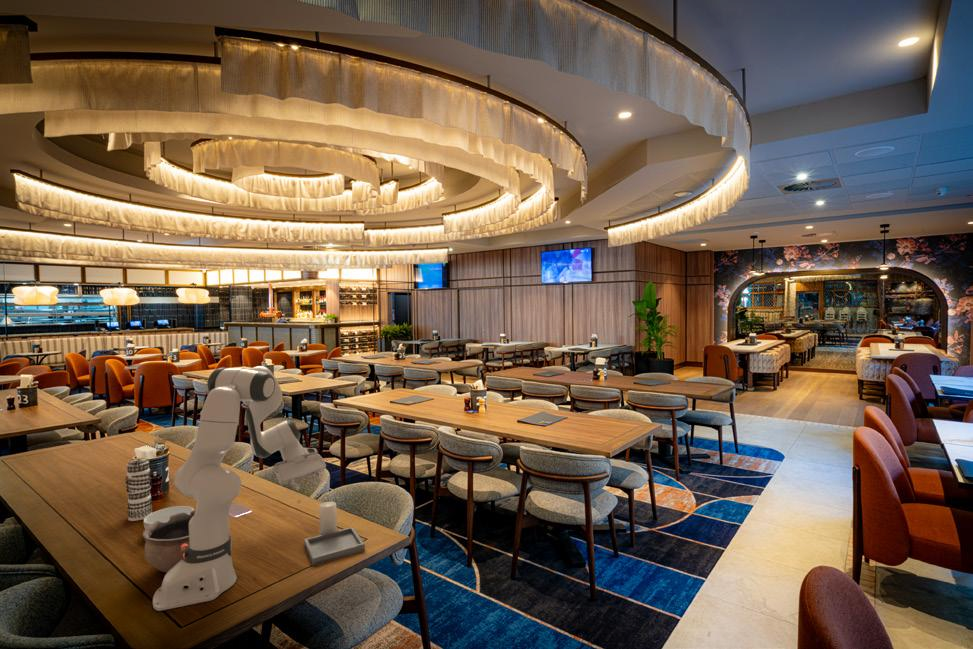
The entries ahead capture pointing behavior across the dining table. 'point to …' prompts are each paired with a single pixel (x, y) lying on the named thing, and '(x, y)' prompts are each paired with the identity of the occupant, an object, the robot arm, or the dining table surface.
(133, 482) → the decorative candle
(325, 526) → the cream capsule shape
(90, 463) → the dining table surface
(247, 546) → the dining table surface
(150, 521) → the cereal bowl
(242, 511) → the mobile phone
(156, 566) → the ceramic bowl
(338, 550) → the serving tray
